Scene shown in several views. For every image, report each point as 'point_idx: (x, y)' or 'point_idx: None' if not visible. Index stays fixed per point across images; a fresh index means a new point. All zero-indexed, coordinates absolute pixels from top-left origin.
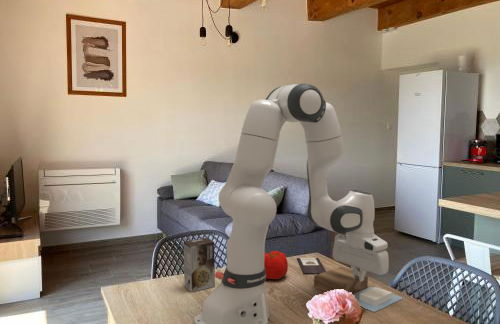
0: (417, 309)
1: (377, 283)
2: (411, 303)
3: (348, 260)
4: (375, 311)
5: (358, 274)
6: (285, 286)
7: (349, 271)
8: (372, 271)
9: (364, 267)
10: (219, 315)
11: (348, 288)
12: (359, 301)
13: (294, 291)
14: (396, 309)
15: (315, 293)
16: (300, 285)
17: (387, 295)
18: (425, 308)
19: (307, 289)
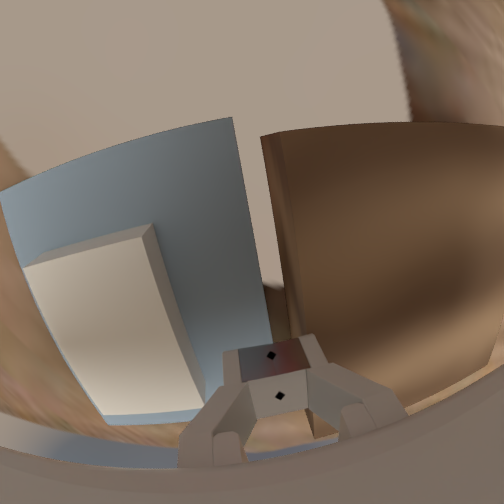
0: (15, 384)
1: (302, 436)
2: (63, 410)
3: (474, 445)
4: (3, 205)
5: (287, 396)
6: (499, 29)
7: (432, 383)
8: (15, 460)
9: (107, 496)
10: None
11: (284, 230)
12: (130, 204)
13: (452, 2)
14: (14, 323)
15: (400, 49)
16: (495, 85)
17: (82, 378)
18: (23, 407)
19: (455, 65)
